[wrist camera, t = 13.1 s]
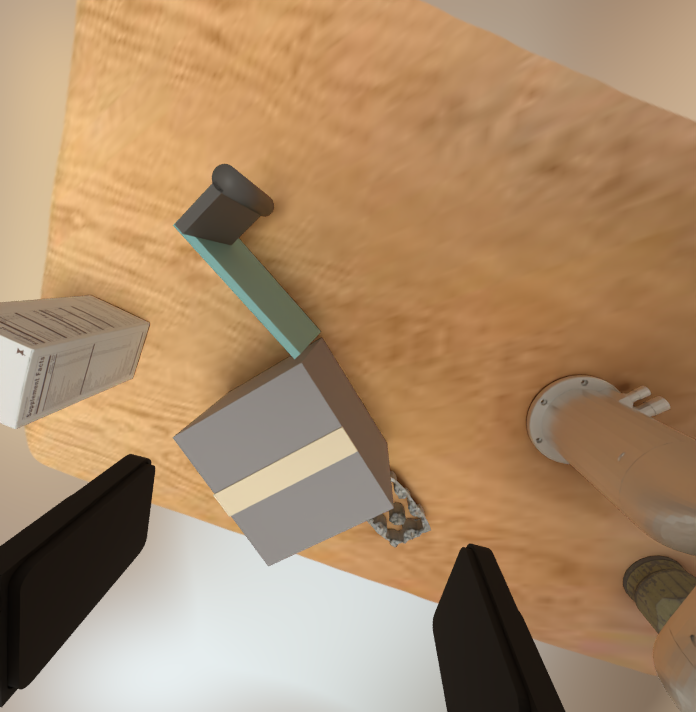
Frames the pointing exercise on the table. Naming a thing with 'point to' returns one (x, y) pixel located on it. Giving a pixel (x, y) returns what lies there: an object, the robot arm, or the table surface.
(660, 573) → the thermos
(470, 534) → the table surface
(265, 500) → the carton
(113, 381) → the supplement box
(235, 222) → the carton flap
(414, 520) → the egg carton
